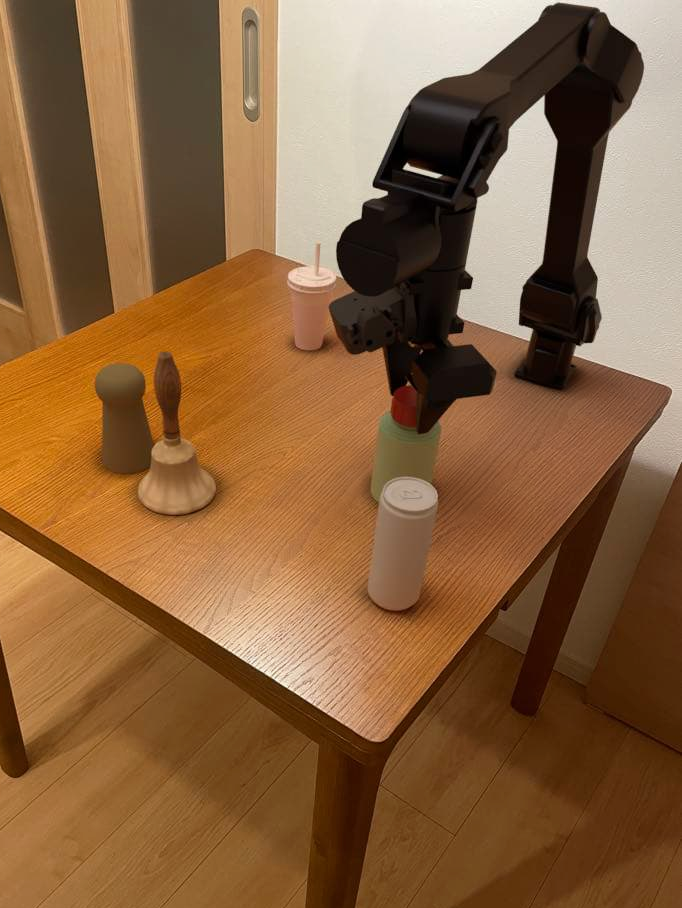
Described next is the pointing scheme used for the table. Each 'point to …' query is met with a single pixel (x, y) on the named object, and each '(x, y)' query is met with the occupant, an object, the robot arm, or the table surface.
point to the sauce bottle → (403, 453)
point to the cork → (124, 419)
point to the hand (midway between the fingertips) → (408, 413)
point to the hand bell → (173, 454)
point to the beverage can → (402, 542)
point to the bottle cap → (404, 406)
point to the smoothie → (310, 302)
